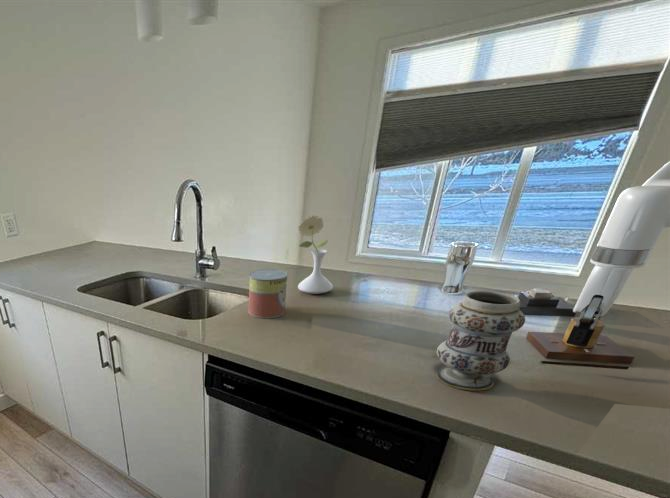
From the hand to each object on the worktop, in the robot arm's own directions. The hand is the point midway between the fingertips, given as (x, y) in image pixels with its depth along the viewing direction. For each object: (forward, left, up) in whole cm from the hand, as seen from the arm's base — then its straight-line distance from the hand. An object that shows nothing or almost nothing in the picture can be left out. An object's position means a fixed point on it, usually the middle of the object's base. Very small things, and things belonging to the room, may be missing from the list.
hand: (579, 339), depth 88 cm
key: (-3, -30, 0) cm, 30 cm away
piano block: (-3, -30, -4) cm, 30 cm away
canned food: (+69, -19, -4) cm, 72 cm away
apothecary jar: (+24, +16, -4) cm, 29 cm away
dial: (0, 0, -1) cm, 1 cm away
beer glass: (+14, -44, -4) cm, 46 cm away
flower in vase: (+56, -41, -4) cm, 69 cm away
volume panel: (0, 0, -4) cm, 4 cm away
